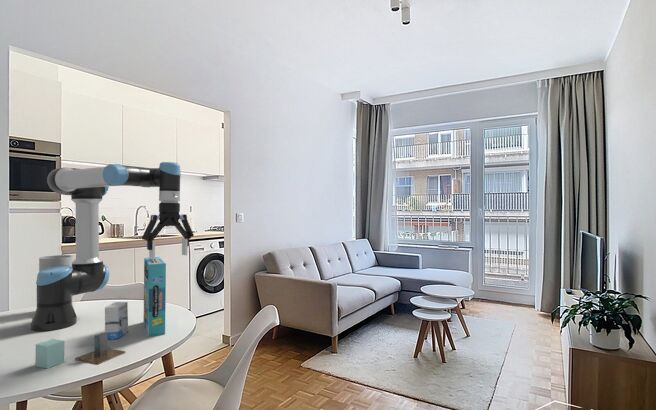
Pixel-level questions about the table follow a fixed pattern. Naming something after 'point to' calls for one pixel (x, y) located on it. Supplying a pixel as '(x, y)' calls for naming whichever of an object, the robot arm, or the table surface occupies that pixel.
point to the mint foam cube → (50, 353)
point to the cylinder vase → (54, 261)
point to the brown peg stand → (100, 351)
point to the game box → (154, 296)
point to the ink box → (116, 319)
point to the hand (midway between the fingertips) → (168, 256)
